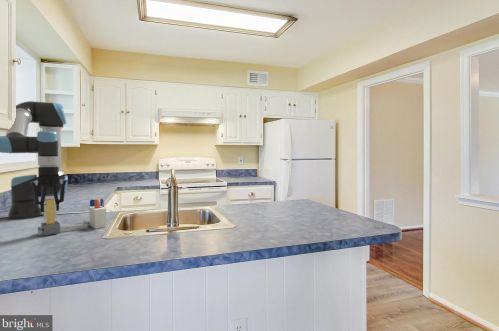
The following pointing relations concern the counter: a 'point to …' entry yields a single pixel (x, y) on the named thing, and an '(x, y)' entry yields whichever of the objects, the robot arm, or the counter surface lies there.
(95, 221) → the end cabinet
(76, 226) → the rail
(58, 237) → the counter surface
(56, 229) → the carriage
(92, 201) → the beverage can
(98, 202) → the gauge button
